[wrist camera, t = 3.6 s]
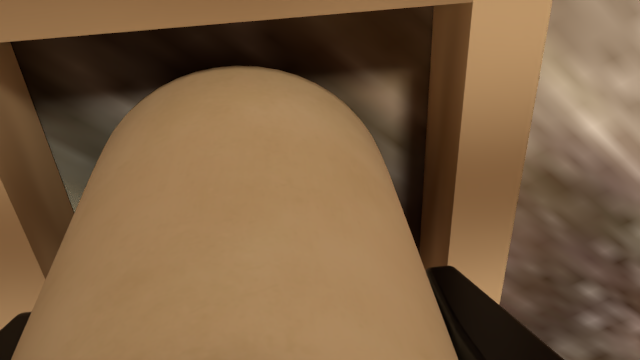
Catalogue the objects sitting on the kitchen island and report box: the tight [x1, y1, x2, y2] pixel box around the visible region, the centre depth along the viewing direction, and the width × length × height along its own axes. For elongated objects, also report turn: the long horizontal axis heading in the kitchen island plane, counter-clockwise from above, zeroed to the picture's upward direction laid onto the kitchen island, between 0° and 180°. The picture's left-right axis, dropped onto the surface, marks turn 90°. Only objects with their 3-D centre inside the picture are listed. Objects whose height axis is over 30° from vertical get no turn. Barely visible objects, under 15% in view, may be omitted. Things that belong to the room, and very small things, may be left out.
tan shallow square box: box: [0, 0, 552, 329], centre depth 11 cm, size 10×10×2 cm
